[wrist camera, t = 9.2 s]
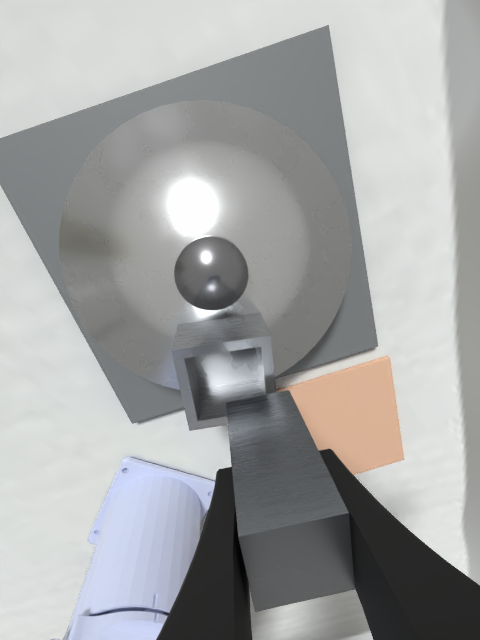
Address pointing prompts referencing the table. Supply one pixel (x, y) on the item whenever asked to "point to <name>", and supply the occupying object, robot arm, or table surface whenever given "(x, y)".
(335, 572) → the dark grey rectangular block
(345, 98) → the table surface
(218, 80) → the base plate
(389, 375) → the mat
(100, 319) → the metal pot lid
